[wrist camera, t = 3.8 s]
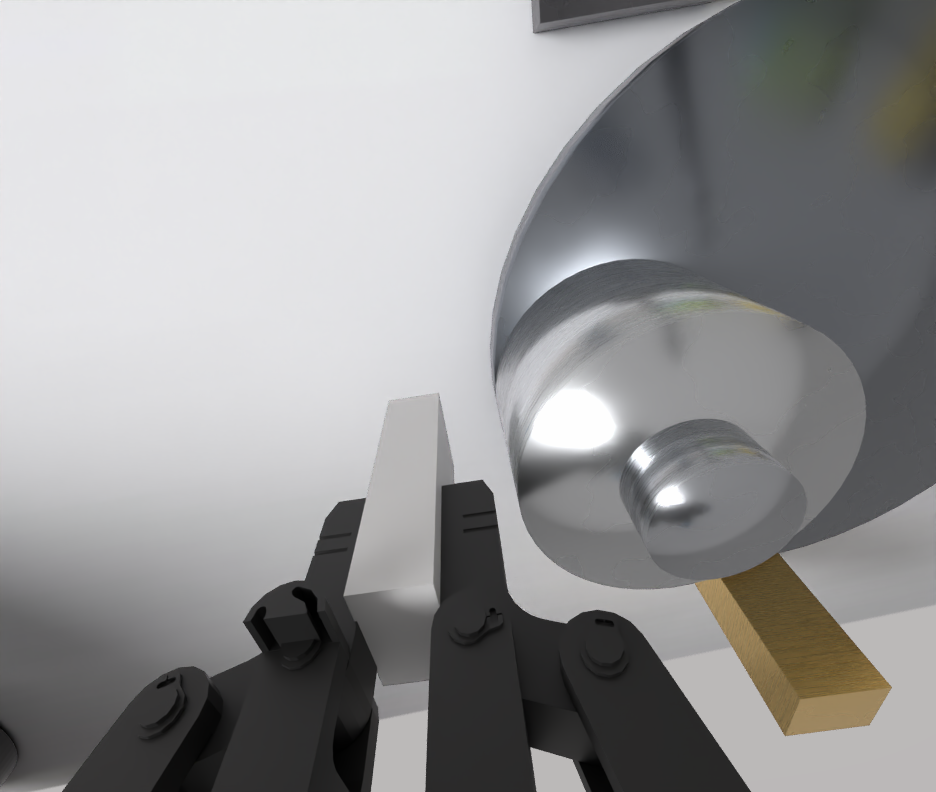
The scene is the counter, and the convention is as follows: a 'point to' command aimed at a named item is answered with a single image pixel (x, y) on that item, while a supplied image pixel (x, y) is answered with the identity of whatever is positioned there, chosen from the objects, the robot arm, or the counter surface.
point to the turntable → (777, 262)
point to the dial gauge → (595, 11)
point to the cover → (671, 425)
